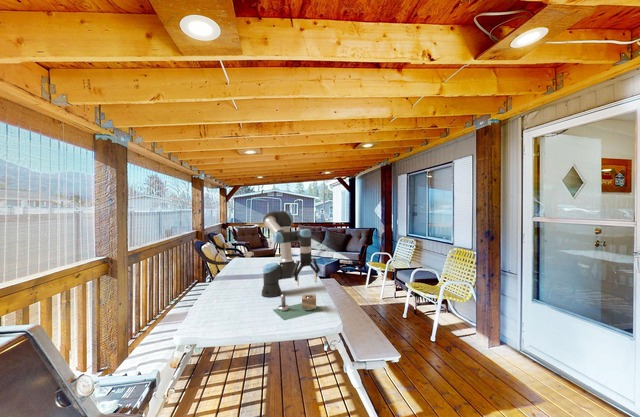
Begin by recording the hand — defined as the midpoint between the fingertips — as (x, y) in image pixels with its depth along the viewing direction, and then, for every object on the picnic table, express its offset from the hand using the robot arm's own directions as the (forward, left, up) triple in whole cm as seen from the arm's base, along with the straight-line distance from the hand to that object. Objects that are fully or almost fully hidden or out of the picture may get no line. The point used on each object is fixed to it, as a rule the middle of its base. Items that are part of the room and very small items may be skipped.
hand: (306, 283), depth 194 cm
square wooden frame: (+3, 0, -14) cm, 14 cm away
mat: (+1, -8, -16) cm, 18 cm away
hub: (+3, 0, -16) cm, 16 cm away
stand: (-5, -15, -16) cm, 22 cm away
